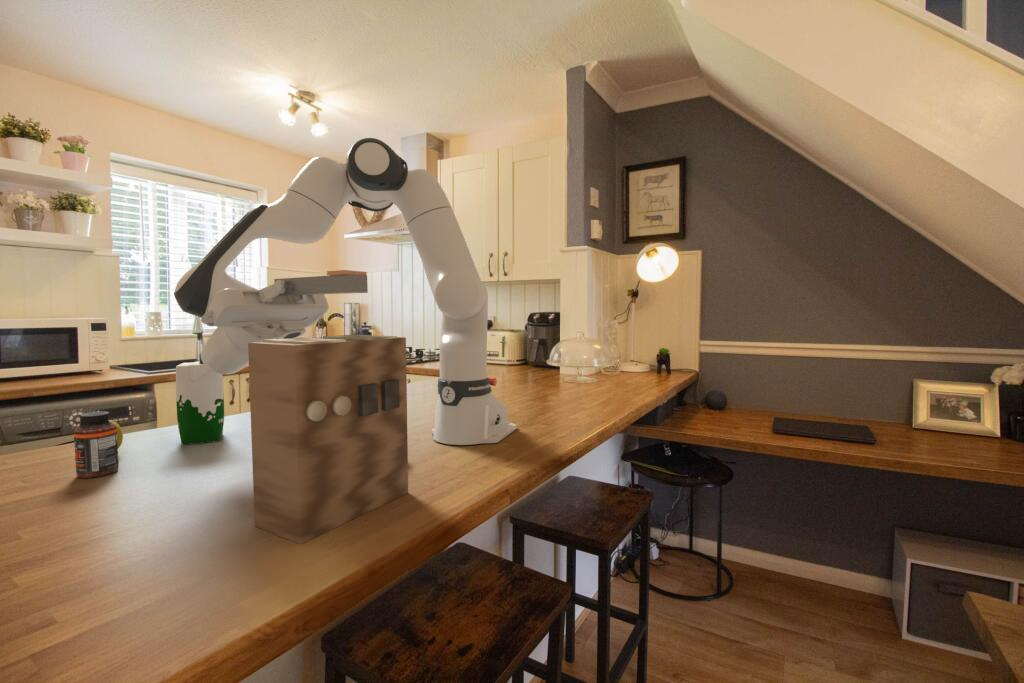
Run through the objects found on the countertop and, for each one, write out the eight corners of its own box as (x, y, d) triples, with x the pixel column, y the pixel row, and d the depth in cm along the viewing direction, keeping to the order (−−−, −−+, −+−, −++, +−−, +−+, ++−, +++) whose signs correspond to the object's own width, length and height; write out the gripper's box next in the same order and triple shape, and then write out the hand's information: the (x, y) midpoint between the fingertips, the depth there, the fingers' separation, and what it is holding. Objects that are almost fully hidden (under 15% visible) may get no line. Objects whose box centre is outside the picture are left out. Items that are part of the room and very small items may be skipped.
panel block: (365, 481, 83) (362, 334, 81) (412, 493, 77) (410, 335, 76) (254, 526, 66) (247, 340, 64) (305, 546, 60) (299, 343, 58)
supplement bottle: (70, 475, 86) (66, 414, 85) (110, 466, 91) (106, 408, 90) (85, 481, 83) (81, 418, 82) (125, 471, 88) (122, 411, 87)
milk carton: (222, 441, 108) (218, 355, 107) (174, 446, 104) (170, 356, 103) (227, 432, 116) (224, 352, 114) (183, 437, 112) (179, 353, 111)
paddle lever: (293, 295, 86) (292, 276, 85) (371, 292, 76) (370, 271, 75) (270, 294, 82) (269, 275, 82) (349, 292, 72) (348, 269, 71)
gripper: (190, 308, 80) (228, 264, 73) (298, 308, 97) (336, 272, 91) (202, 341, 79) (241, 298, 72) (309, 335, 96) (348, 300, 90)
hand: (295, 284), depth 82 cm, fingers closed on paddle lever, 3 cm apart
